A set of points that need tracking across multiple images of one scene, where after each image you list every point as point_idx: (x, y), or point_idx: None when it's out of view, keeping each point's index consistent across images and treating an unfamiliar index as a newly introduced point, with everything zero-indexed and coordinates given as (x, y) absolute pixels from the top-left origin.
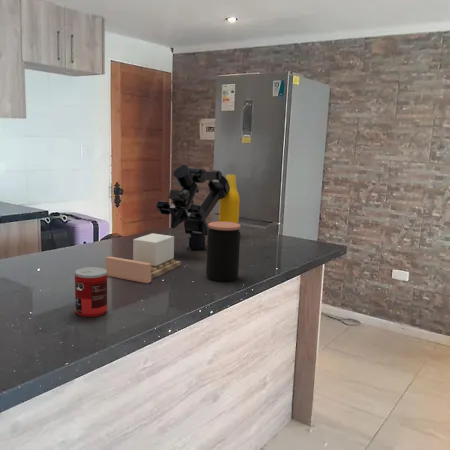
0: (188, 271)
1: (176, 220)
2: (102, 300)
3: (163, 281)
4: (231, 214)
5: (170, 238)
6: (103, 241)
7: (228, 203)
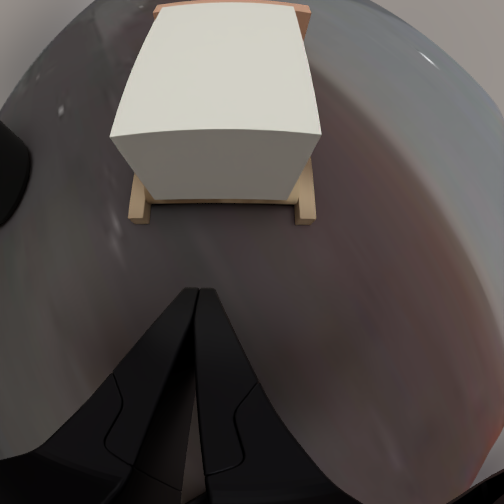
0: (85, 173)
1: (132, 358)
2: None
3: (131, 66)
4: None
5: (124, 98)
6: None
7: None
